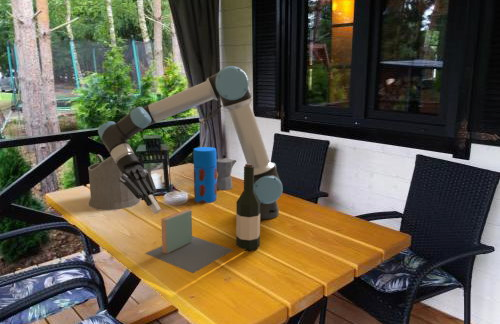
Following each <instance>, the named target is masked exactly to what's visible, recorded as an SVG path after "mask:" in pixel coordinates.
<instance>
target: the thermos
mask: <svg viewBox="0 0 500 324" xmlns="http://www.w3.org/2000/svg"><path fill="white" fill-rule="evenodd" d="M217 159H218V158H217V148H215V147H212V146H211V147H210V146H201V147H200V146H199V147H195V148H193V188H194V189H193V190H194V191H193V194H194V202H196V203H199V204H211V203H215V202H216V201H217V196H218V195H217V193H218V191H217V190H218V189H217V177H218V173H217V166H216V165H217Z"/></svg>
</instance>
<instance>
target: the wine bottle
mask: <svg viewBox="0 0 500 324" xmlns="http://www.w3.org/2000/svg"><path fill="white" fill-rule="evenodd" d="M235 219H236V221H235V222H236V224H235V225H236V227H235V229H236V231H235V232H236V233H235V235H236V236H235V239H236V240H235V242H236V243H235V244H236V246H237V247H238V248H239V249H243V250H244V252H253V251H257V250H258V249H259V248H260V244H261V243H260V241H261V239H260V237H261V219H260V200H259V198H258V197H257V195H256V193H255V192H254V166H253V164H249V163H248V164H247V163H245V165H244V166H243V191H242V192H241V194H240V196H239V197H238V199H237V200H236V218H235Z"/></svg>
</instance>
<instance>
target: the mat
mask: <svg viewBox="0 0 500 324" xmlns="http://www.w3.org/2000/svg"><path fill="white" fill-rule="evenodd" d="M233 251H234V249H232V248H229V247H226V246H223V245H221V244H218V243H214V242H212V241H209V240H205V239H202V238H200V237H197V236H194V235H192V242H191V243H189V244H186V245H184V246H182V247H180V248H178V249H176V250H174V251H172V252H170V253H168V254H166V253H163V251H162V245H160V246H159V247H156V248H154V249H151V250H150V251H148V252H145V253H144V254H146V255H148V256H151V257H153V258H155V259H157V260H160V261H161V262H162V261H163V262H165V263H167V264H169V265H173V266H174V267H178V268H180V269H182V270H184V271H186V272H189V273H192V274H195V273H197V271H199V270H201V269H204V268H205V267H207V266H208V265H210V264H212V263H214V262H216V261H217V260H220V259H221V258H222V257H224V256H226V255H228V254H230V253H231V252H233Z"/></svg>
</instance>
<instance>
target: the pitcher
mask: <svg viewBox="0 0 500 324" xmlns="http://www.w3.org/2000/svg"><path fill="white" fill-rule="evenodd" d="M98 157H99V159H100V160H101V162H98ZM94 161H95V163H94V164H91V165H90V166H88V177H89V191H90V193H89V194H90V198H89V201H88V207H90V208H92V209H93V210H100V211H116V210H118V211H119V210H124V209H129V208H132V207H134V206H137V205H138V204H139V203H141V201H142V200H141V199H142V198H140V199H137V198H136V197H135V195H134V194H133V193H132V192H131V191H130V190H129V189H128V188H127V187H126V185H125V184H123V183H122V182H120V181H119V179H120V178H121V176H122V172H121V171H120V170H119V168H118V166H117V163H115V161H114V159H113V158H112V156H111V155H110V156H108V157H107V158H106V159H105V160H104V159H103V156H102V155H100V154H99V153H98V154H96V155H95V159H94Z"/></svg>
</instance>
